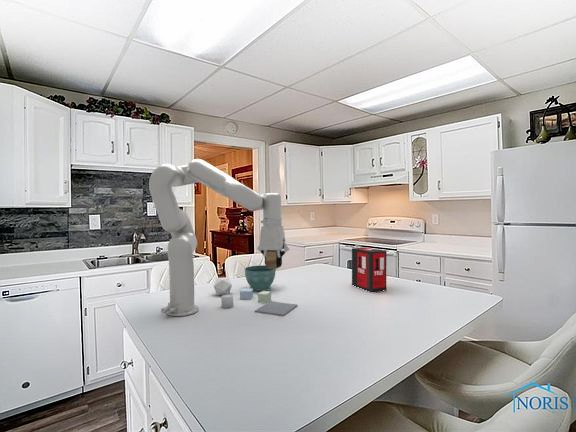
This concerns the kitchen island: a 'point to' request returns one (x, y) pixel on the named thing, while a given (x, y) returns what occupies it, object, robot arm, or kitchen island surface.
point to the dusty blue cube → (246, 294)
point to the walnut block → (271, 259)
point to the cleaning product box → (369, 269)
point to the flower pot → (259, 277)
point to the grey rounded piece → (227, 301)
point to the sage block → (264, 296)
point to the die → (222, 286)
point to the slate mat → (276, 308)
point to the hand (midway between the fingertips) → (273, 265)
